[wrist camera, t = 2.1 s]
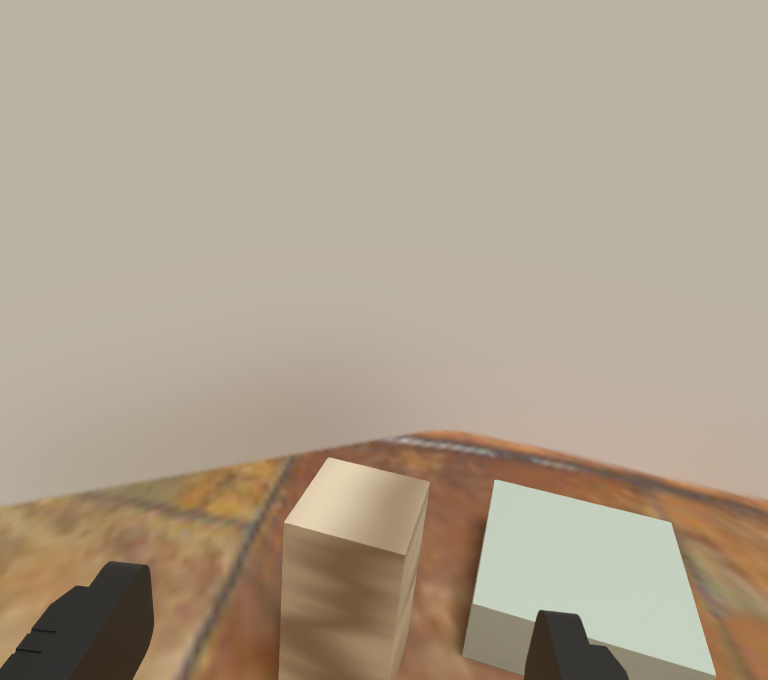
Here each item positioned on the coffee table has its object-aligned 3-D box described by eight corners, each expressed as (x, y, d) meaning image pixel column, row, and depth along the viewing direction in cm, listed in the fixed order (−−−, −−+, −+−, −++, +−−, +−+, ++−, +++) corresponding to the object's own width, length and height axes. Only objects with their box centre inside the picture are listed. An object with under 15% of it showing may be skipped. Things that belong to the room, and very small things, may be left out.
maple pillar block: (277, 696, 26) (284, 522, 22) (317, 613, 30) (328, 457, 27) (381, 732, 25) (405, 555, 21) (406, 640, 29) (430, 481, 26)
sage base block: (460, 661, 29) (472, 603, 28) (485, 527, 39) (494, 479, 37) (689, 735, 27) (716, 675, 25) (653, 571, 36) (671, 522, 35)
